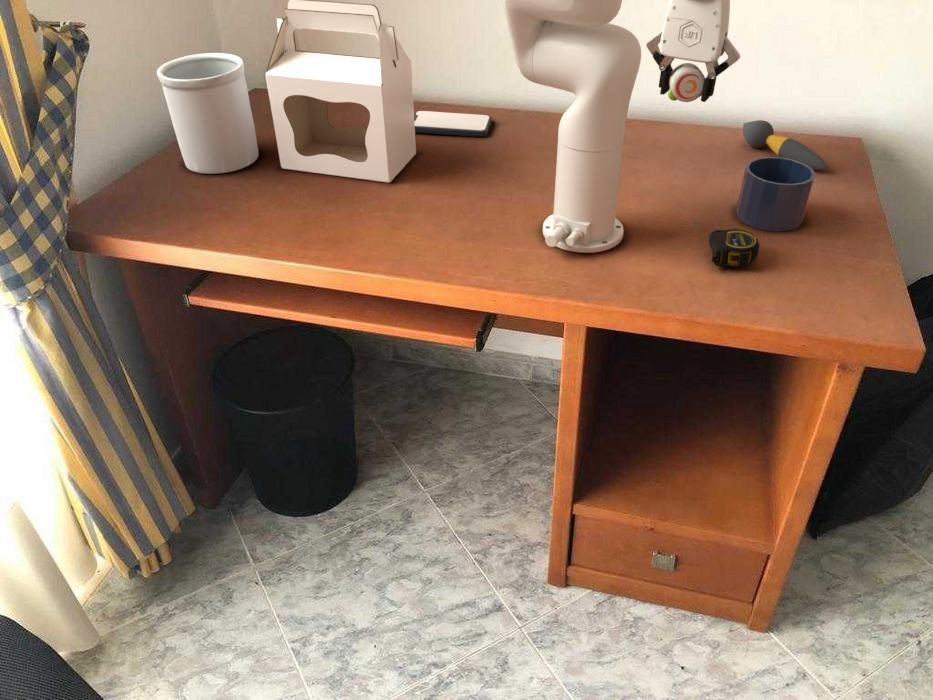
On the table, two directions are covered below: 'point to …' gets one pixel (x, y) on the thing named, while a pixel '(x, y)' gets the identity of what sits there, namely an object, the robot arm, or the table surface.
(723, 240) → the tape measure
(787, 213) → the cup
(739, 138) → the table surface
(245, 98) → the utensil holder
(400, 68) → the gable box
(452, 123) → the phone case
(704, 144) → the table surface
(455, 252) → the table surface
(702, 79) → the roller toy
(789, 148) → the paintbrush
